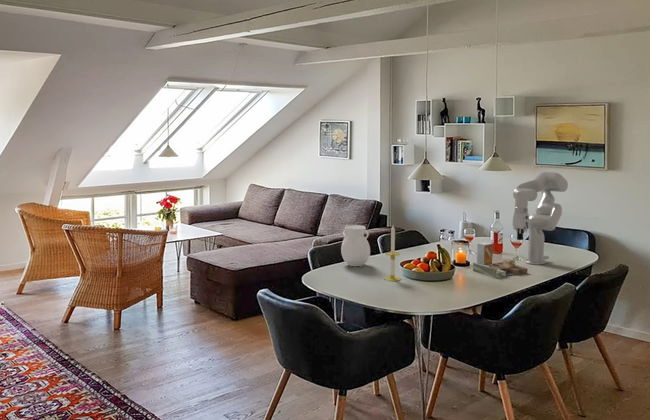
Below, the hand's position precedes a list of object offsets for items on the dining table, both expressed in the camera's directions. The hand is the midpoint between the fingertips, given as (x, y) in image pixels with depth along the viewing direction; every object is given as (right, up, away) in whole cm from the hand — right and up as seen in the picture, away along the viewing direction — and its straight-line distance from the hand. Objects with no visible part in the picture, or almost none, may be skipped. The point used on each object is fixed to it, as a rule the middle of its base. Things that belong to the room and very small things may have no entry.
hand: (519, 239), depth 395 cm
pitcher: (-100, -17, +16) cm, 103 cm away
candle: (-80, -22, -19) cm, 86 cm away
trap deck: (-13, -20, -3) cm, 24 cm away
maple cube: (-7, -16, -1) cm, 18 cm away
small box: (-17, -16, +20) cm, 31 cm away
